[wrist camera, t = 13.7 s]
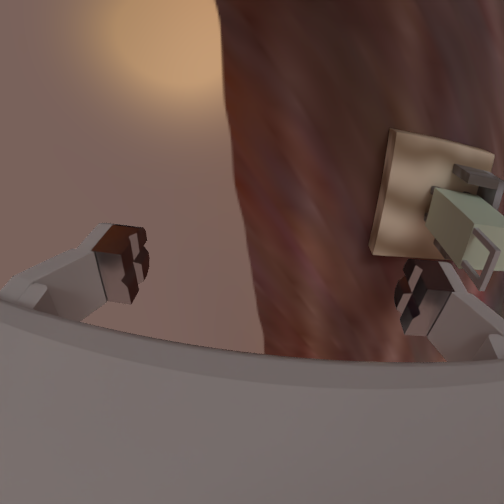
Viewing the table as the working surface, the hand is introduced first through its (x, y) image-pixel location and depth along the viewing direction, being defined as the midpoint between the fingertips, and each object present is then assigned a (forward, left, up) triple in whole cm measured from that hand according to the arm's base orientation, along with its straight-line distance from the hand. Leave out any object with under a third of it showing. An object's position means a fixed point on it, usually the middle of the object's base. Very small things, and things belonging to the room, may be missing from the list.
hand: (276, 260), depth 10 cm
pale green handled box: (+7, +23, -27) cm, 36 cm away
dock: (+7, +21, -29) cm, 37 cm away
